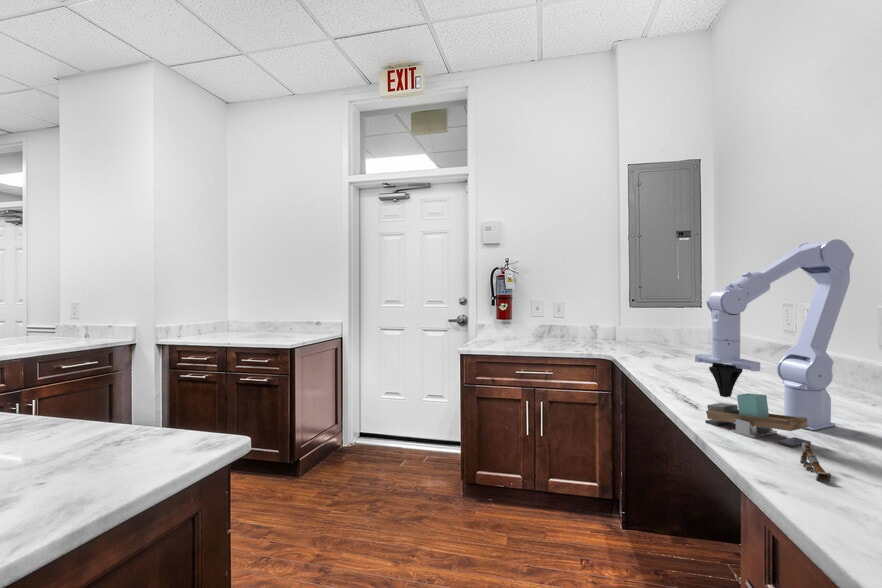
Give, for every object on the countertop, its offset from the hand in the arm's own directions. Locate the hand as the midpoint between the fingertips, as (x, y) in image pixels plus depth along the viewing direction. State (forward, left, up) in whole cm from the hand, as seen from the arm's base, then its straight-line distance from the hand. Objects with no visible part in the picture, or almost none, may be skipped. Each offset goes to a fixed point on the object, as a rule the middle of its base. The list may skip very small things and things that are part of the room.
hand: (725, 396), depth 106 cm
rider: (0, +7, -3) cm, 7 cm away
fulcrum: (0, +7, -7) cm, 9 cm away
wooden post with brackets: (+14, +25, -7) cm, 29 cm away
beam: (0, +7, -5) cm, 8 cm away
